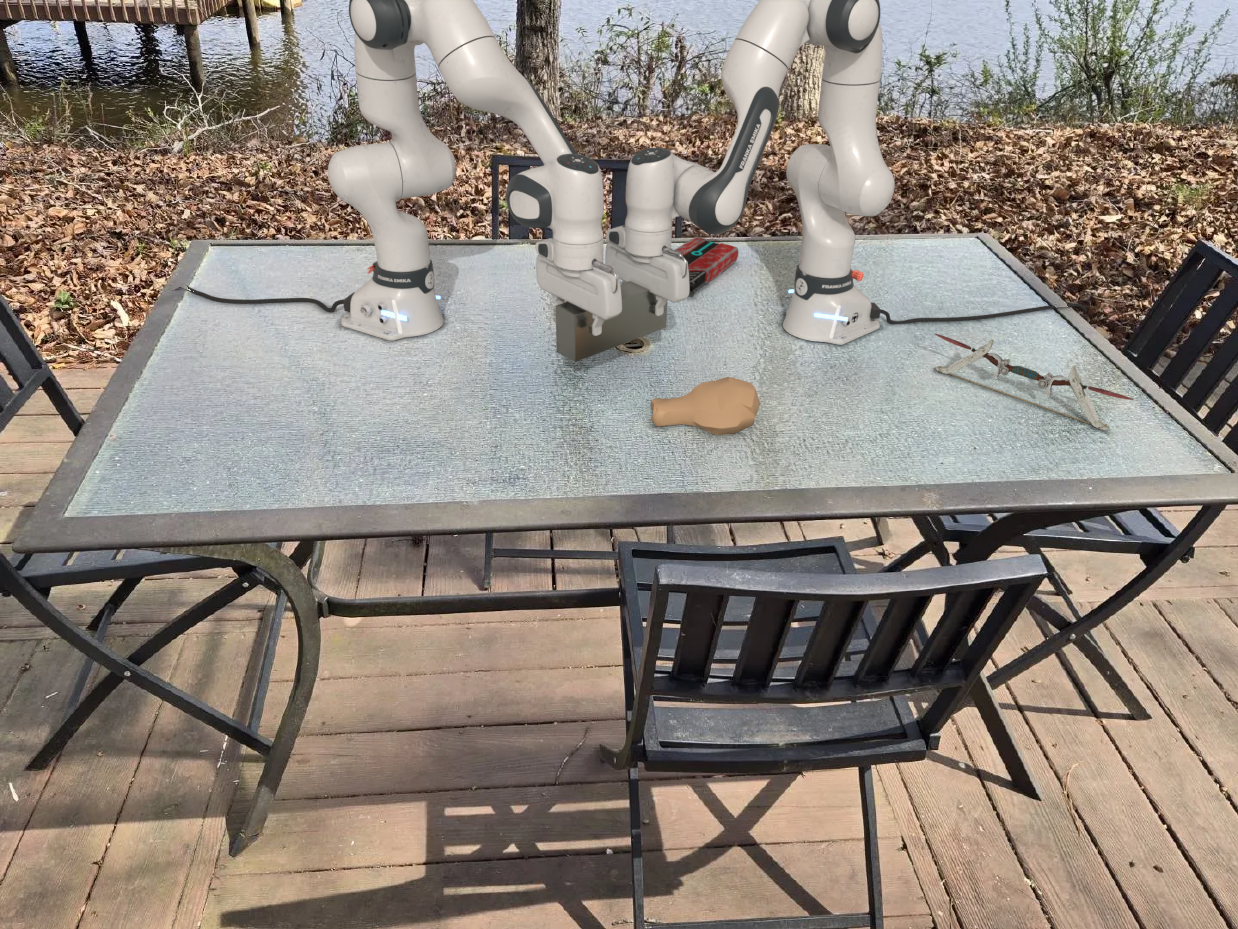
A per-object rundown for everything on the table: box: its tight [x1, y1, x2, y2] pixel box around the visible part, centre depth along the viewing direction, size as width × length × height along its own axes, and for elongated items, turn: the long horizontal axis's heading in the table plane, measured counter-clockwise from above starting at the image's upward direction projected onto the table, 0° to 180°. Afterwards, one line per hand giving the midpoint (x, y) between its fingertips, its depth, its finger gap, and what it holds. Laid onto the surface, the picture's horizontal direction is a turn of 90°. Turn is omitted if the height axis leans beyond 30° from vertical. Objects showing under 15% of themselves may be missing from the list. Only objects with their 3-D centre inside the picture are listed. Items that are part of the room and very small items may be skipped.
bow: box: [934, 333, 1135, 431], centre depth 171 cm, size 39×2×10 cm, turn 47°
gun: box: [673, 236, 739, 298], centre depth 223 cm, size 4×31×19 cm
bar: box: [555, 281, 668, 363], centre depth 167 cm, size 23×6×9 cm, turn 132°
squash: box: [650, 376, 761, 436], centre depth 160 cm, size 11×20×9 cm, turn 90°
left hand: (578, 325), depth 161 cm, fingers open, 8 cm apart
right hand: (645, 308), depth 172 cm, fingers closed on bar, 5 cm apart
